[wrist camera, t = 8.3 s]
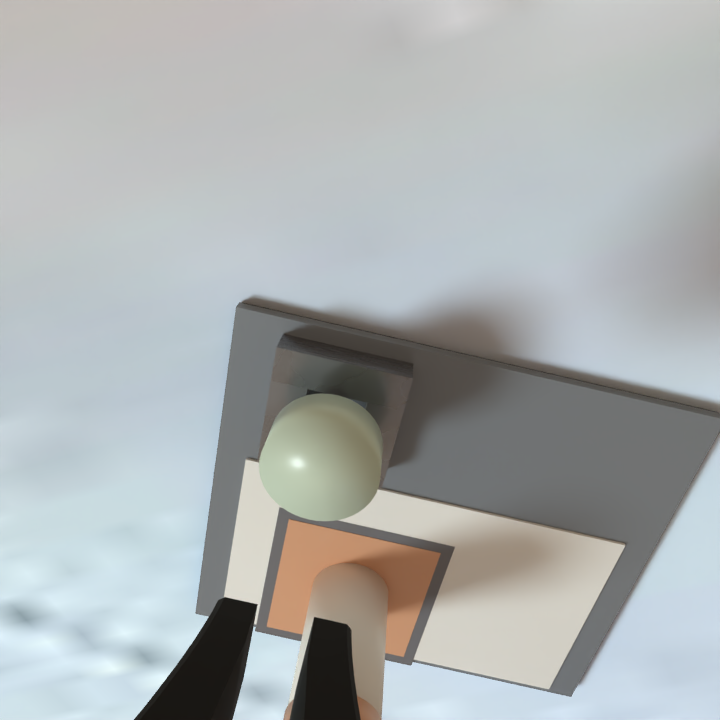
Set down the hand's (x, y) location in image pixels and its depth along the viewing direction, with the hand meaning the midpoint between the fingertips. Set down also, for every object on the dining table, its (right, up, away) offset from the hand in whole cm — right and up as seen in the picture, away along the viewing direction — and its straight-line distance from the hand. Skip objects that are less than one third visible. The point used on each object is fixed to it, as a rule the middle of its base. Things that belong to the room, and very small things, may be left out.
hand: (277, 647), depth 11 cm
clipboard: (+4, 0, +10) cm, 11 cm away
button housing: (+1, +4, +8) cm, 9 cm away
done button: (+1, +4, +8) cm, 9 cm away
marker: (+1, -3, +11) cm, 12 cm away
